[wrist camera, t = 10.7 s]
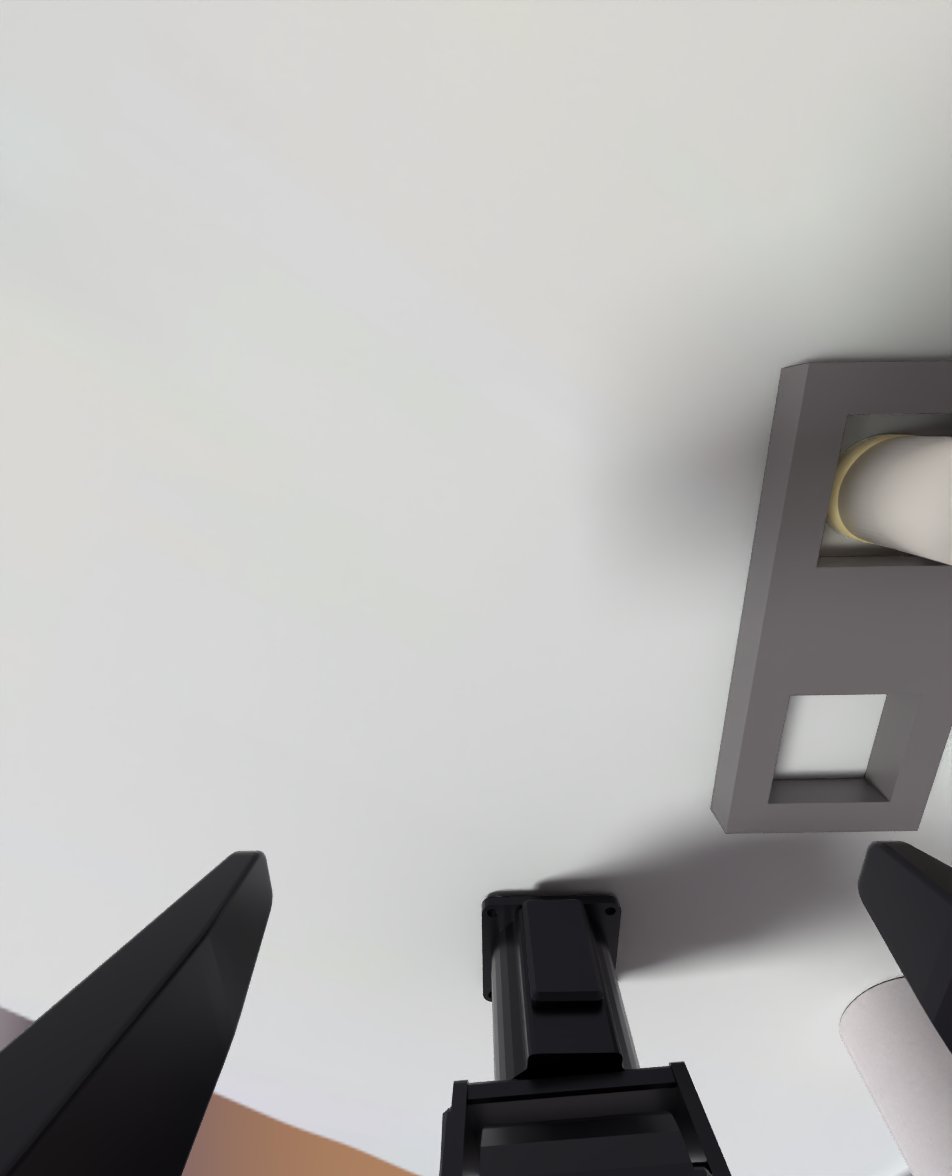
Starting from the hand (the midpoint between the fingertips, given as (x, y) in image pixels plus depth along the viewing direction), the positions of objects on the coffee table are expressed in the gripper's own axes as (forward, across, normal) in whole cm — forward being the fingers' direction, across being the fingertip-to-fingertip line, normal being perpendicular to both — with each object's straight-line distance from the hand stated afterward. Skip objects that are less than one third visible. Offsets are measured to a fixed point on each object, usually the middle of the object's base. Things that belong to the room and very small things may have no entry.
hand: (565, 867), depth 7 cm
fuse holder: (+12, -13, +1) cm, 18 cm away
